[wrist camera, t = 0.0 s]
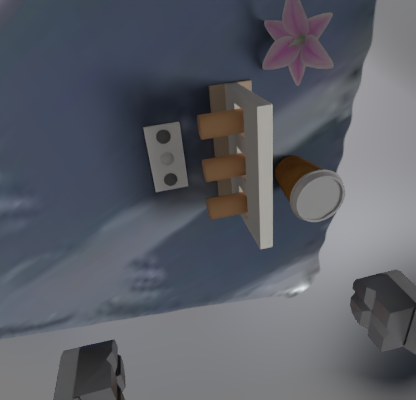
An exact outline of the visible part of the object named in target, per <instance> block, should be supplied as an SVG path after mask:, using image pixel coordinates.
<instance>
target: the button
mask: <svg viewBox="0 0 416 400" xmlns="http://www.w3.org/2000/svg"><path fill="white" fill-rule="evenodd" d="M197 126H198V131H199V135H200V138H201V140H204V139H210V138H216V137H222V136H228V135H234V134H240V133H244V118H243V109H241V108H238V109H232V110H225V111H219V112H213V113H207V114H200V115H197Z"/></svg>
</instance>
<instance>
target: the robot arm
mask: <svg viewBox="0 0 416 400" xmlns="http://www.w3.org/2000/svg"><path fill="white" fill-rule="evenodd" d="M353 289H354V291H355V293H354V295H353V296H352V297H351V303H350V306H351V310H352V313H353V315H354V317H355V319H356V320H357V322H358V323H359V324H360V325H361V326H363V327H365V328H367V329H368V336H369V338H370V339H371V340H372V341H373V343H374V344H375V345H376V347H377V348H378V349H379V350H380V352H383V351H387V350H391V349H395V348H399V347H403V346H405V348H406V349H407V350H409V351H411V352H412V353H414V354H416V285H415V284H414V283H413V282H411V281H410V280H409V279H408V278H407V277H406V276H405V275H404V274H403V273H401V272H400V271H398V270H393V271H388V272H384V273H379V274H376V275H372V276H368V277H364V278H360V279H356V280H355V281H354V283H353ZM117 351H118V348H117V344H116V342H115V340H110V341H105V342H101V343H96V344H91V345H87V346H83V347H79V348H74V349H70V350H66V351H64V352H63V354H62V356H61V360H60V365H59V371H58V376H57V382H56V387H55V393H54V399H53V400H125V399H124V396H123V393H122V392H123V390H124V389H125V373H124V365H123V361H122V358H121V356H120V355H118V354H117Z"/></svg>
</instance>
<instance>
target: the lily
mask: <svg viewBox="0 0 416 400" xmlns="http://www.w3.org/2000/svg"><path fill="white" fill-rule="evenodd" d="M332 16H333V13H331V12H330V13H324V14H320V15H316V16H313V17H311V18H308V19H307V17H306V14H305V12H304V10H303V7H302V5H301V2H300V0H286V2H285V6H284V9H283V14H282V21H276V20H267V21H264V25H265V27H266V29H267V31H268V33H269V34H270V35H271V37H272V38H273V39H274V40H275V42H274V43H273V44H272V46H271V47H270V49H269V50H268V52H267V54H266V56H265V59H264V61H263V64H262V67H263V69H264V70H272V69H278V68H282V67H285V66H288V67H289V70H290V73H291V75H292V78H293V80H294V82H295V83H296V85H297V86H299V85H300V82H301V80H302V77H303V74H304V71H305V67H306V66H308V67H311V68H318V69H332V68H333V67H334V64H333V62H332V60H331V58H330V57H329V55H328V54H327V52H326V51H325V49H324V48H323V46H322V45H321V43H320V42H319V40H318V38H319V37H320V36H321V34H322V33H323V31H324V30H325V28H326V27H327V25H328V23H329V22H330V20H331V18H332Z"/></svg>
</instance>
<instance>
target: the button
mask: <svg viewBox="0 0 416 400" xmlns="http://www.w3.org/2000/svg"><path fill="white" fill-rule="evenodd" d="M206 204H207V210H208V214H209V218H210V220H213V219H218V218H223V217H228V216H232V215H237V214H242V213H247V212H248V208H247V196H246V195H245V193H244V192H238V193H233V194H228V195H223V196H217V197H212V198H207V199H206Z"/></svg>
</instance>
